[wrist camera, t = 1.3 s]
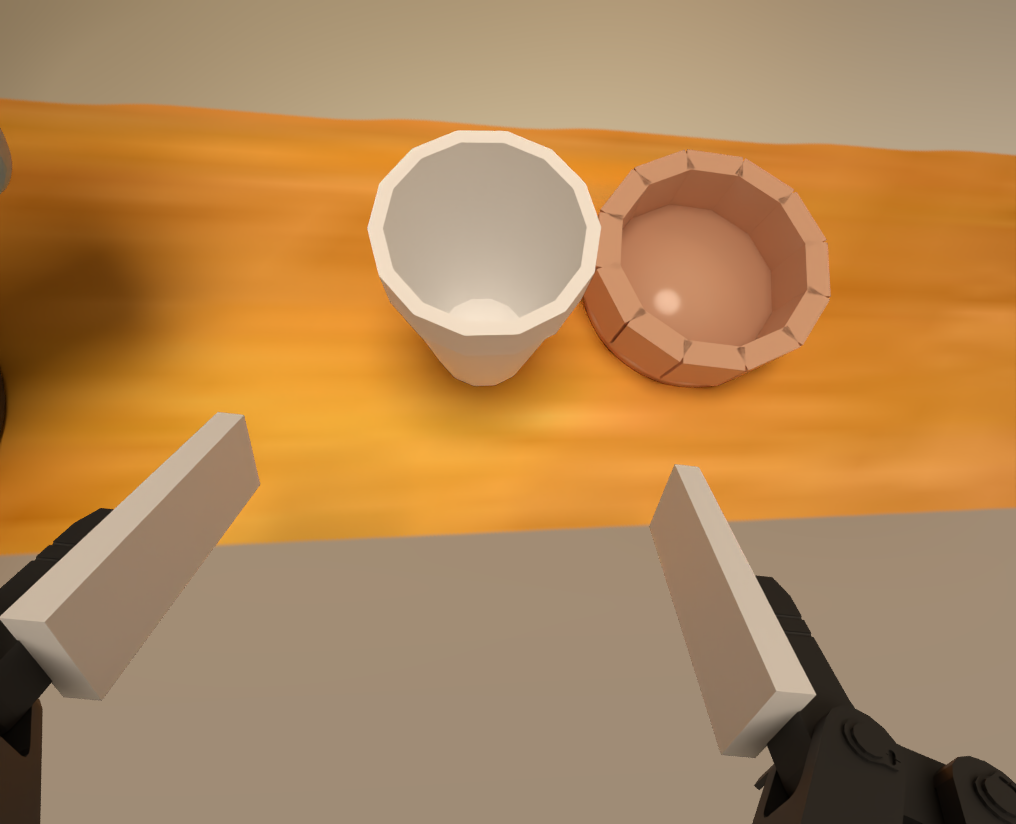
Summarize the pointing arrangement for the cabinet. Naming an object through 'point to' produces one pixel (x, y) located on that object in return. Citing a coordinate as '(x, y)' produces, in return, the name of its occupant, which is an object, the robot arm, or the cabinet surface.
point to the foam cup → (484, 248)
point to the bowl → (705, 270)
